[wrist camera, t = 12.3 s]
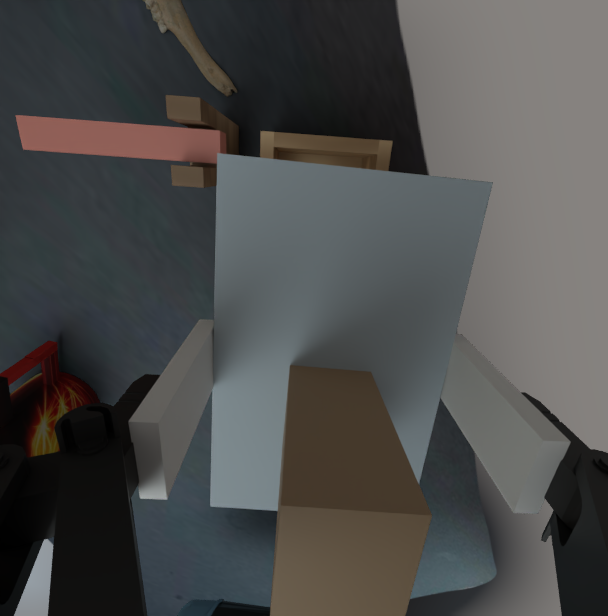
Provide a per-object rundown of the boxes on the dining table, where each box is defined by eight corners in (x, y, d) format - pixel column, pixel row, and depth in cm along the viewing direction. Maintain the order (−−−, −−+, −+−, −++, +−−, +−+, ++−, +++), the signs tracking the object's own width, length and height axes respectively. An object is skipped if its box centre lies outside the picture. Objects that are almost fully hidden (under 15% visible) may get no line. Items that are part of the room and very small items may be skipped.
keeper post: (238, 182, 34) (203, 187, 22) (219, 180, 34) (172, 185, 22) (238, 126, 32) (199, 97, 20) (217, 124, 32) (165, 95, 20)
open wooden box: (352, 300, 39) (364, 330, 31) (265, 295, 39) (257, 324, 31) (371, 148, 33) (392, 141, 26) (269, 140, 33) (260, 130, 25)
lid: (397, 484, 19) (482, 725, 10) (220, 472, 19) (149, 711, 10) (464, 185, 14) (724, 155, 6) (229, 160, 14) (110, 86, 5)
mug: (61, 334, 40) (-30, 396, 29) (113, 423, 45) (52, 505, 34) (-11, 351, 41) (-126, 418, 30) (48, 437, 46) (-32, 522, 35)
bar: (226, 164, 25) (220, 163, 23) (44, 151, 24) (23, 149, 22) (225, 133, 24) (219, 130, 22) (38, 119, 23) (15, 115, 22)
